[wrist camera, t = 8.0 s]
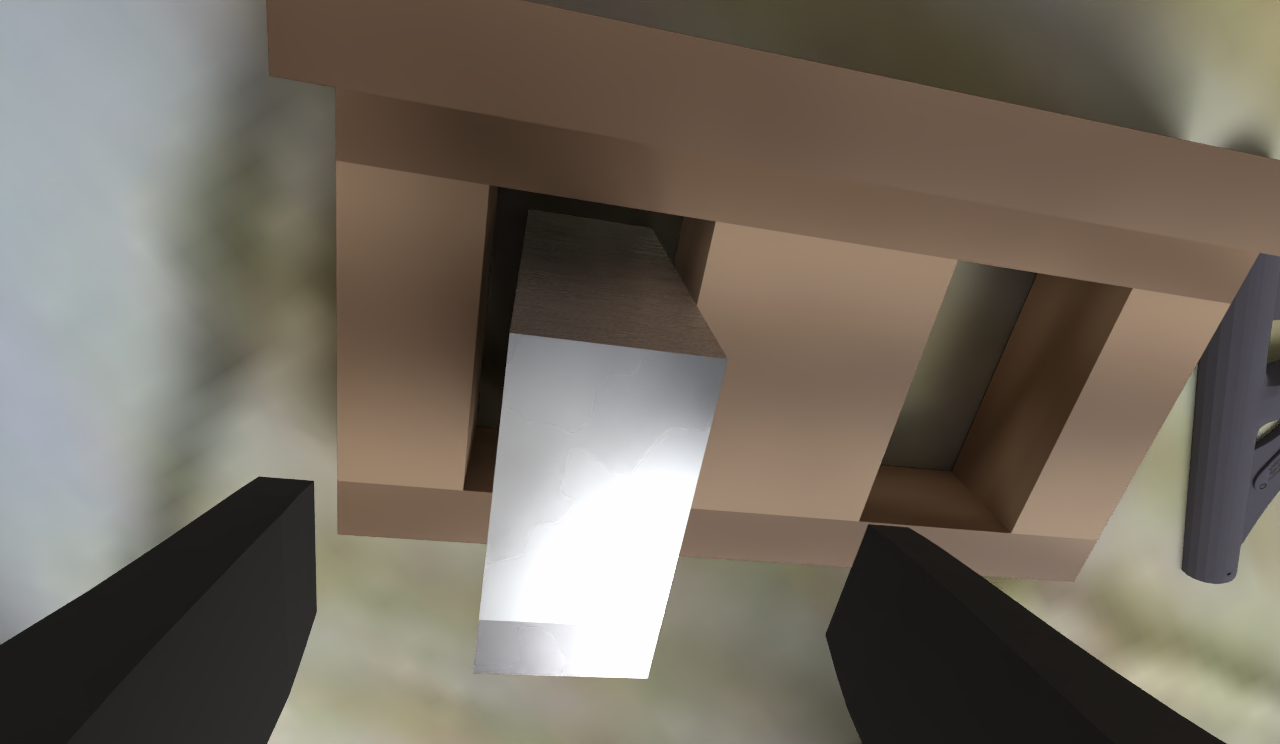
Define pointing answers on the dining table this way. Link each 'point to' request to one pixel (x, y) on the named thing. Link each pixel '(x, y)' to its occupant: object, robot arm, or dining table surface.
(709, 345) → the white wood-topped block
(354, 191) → the brown holed block
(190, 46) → the dining table surface
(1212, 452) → the bracket
